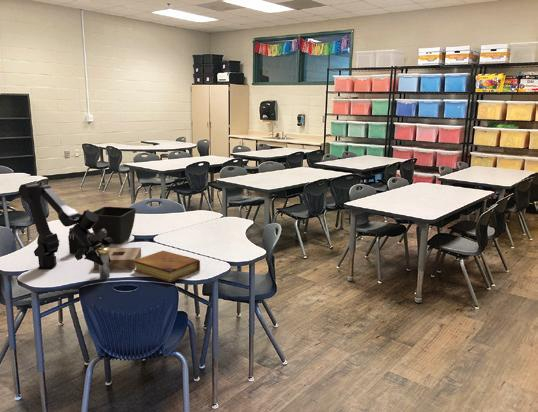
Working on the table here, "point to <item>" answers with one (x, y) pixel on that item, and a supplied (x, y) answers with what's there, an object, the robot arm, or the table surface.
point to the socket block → (122, 258)
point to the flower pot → (115, 222)
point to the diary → (167, 265)
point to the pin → (104, 262)
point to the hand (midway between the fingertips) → (106, 263)
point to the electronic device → (74, 244)
